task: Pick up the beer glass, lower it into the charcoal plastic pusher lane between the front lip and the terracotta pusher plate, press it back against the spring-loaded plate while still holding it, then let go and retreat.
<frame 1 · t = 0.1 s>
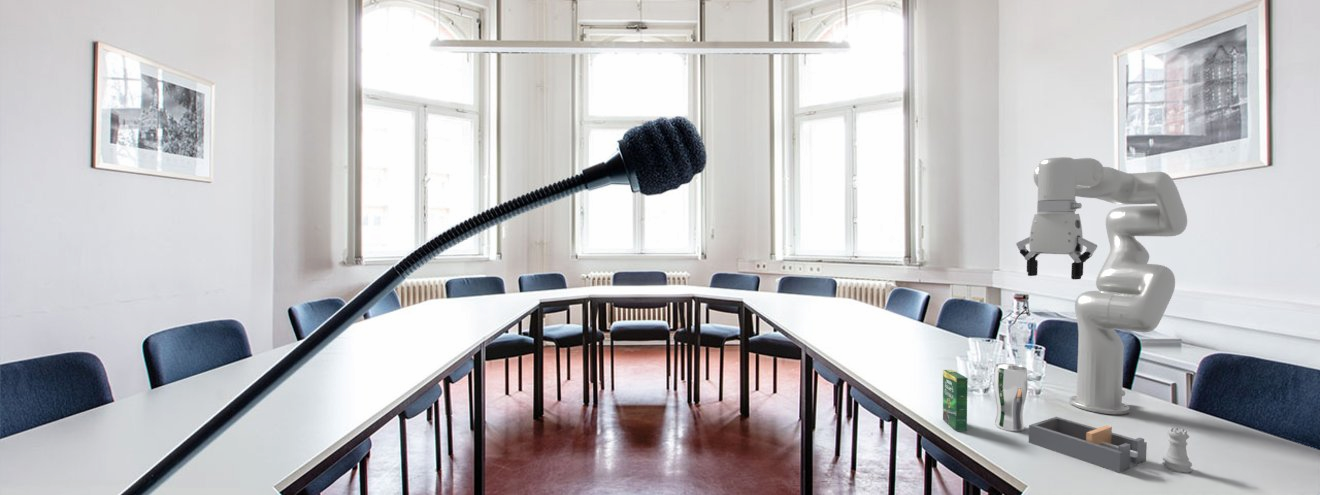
hand: (1053, 277, 133), 37 cm above the table, tool pointing down, fingers open, 9 cm apart
beer glass: (1009, 427, 132), on the table
lane: (1084, 451, 118), on the table
coffee box: (954, 426, 133), on the table
rook chess piece: (1176, 469, 109), on the table
pusher: (1115, 446, 113), point 3 cm above the table, slide at 0.0 cm
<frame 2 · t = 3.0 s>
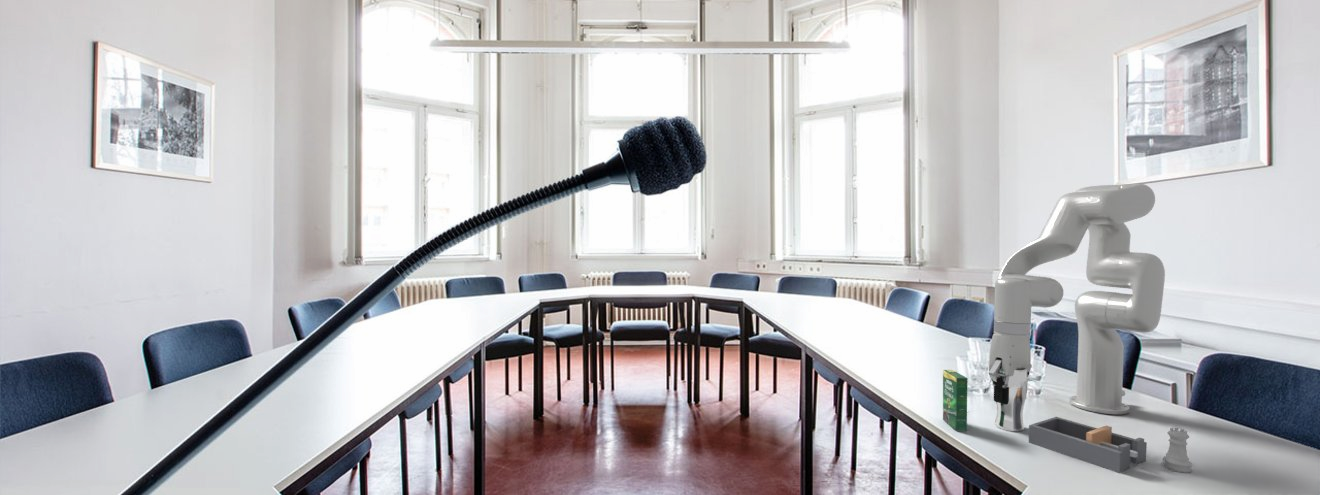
hand: (1010, 399, 132), 7 cm above the table, tool pointing down, fingers closed on beer glass, 6 cm apart
beer glass: (1009, 427, 132), on the table, touching gripper
everything else where it was.
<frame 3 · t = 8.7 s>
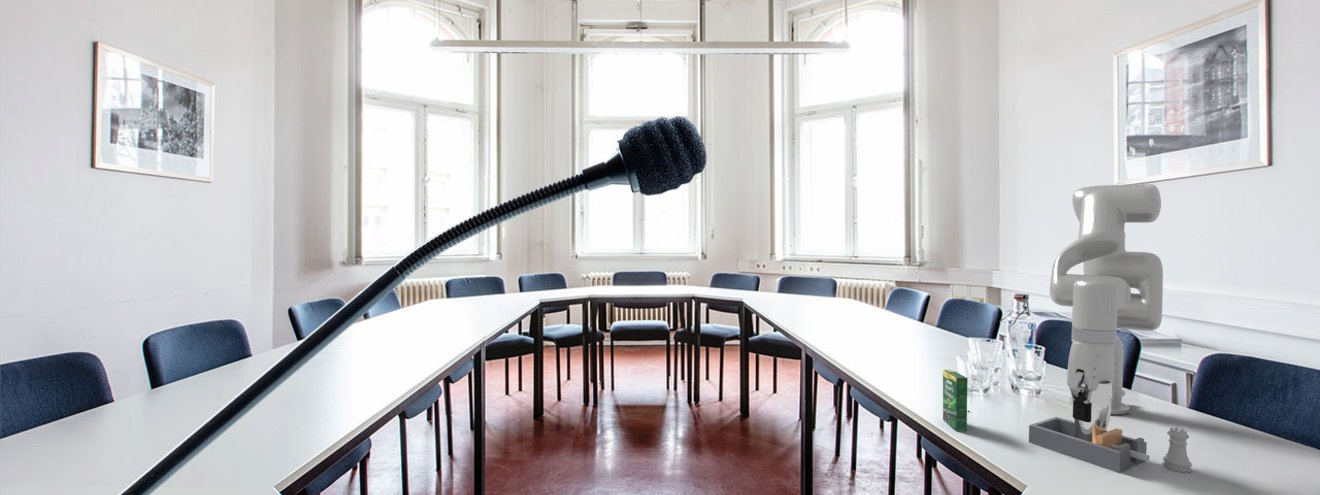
hand: (1090, 416, 117), 8 cm above the table, tool pointing down, fingers closed on beer glass, 6 cm apart
beer glass: (1089, 448, 117), point 1 cm above the table, touching gripper, pusher
pusher: (1126, 449, 111), point 3 cm above the table, slide at 1.9 cm, touching beer glass
everything else where it was.
when the fingers open (8 cm above the table, at t = 9.9 s): beer glass stays where it is, resting on lane.
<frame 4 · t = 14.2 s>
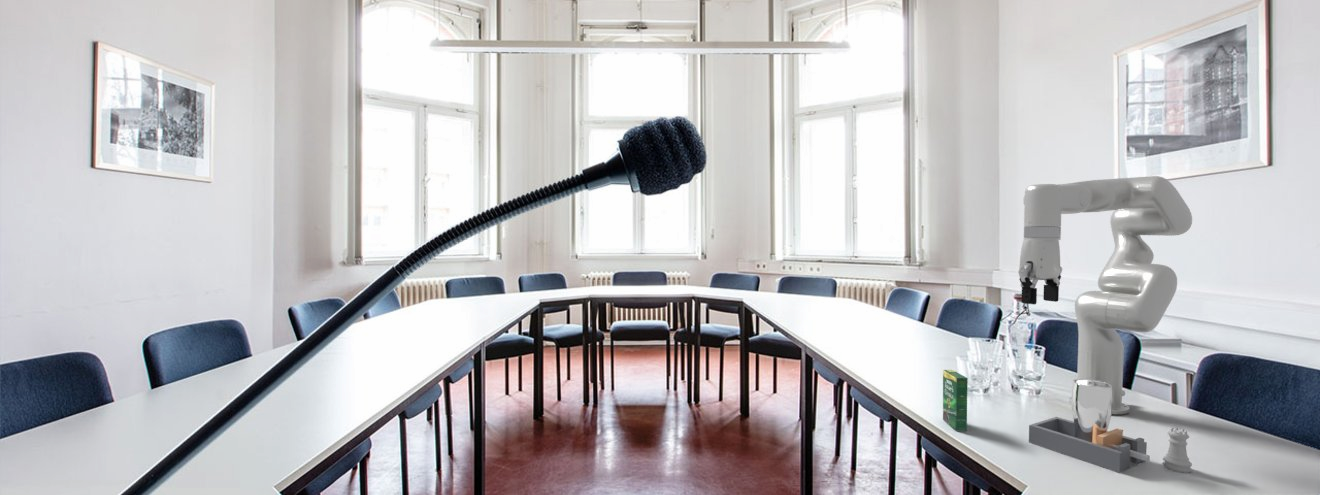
hand: (1040, 302, 134), 30 cm above the table, tool pointing down, fingers open, 9 cm apart
beer glass: (1089, 451, 117), resting on lane
pusher: (1127, 449, 111), point 3 cm above the table, slide at 1.9 cm
everything else where it was.
at the end: beer glass inside the target area (2.1 cm from its centre), resting on lane; beer glass tilted 0°; the gripper is holding nothing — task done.
